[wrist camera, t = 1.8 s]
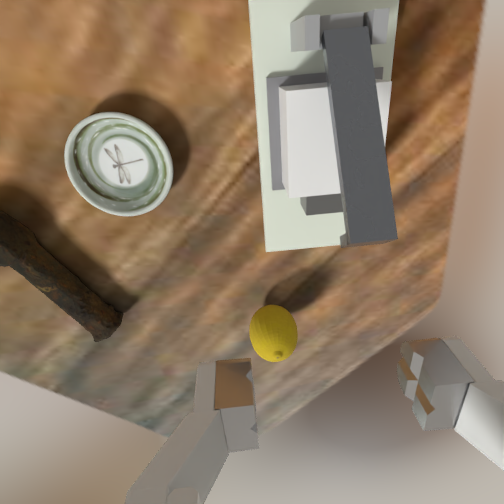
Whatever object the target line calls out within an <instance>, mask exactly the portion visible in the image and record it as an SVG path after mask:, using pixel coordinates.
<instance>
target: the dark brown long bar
mask: <svg viewBox="0 0 504 504" xmlns="http://www.w3.org/2000/svg"><path fill="white" fill-rule="evenodd" d="M0 266H4V267H5V266H10V267H11V268H13V269H14V270H16V271H17V272H19V273H20V274H21V275H23V276H24V277H25V278H26V279H27V280H28V281H29V282H30V283H31V284H33V285H34V286H35V287H36V288H37V289H39V290H40V291H41V292H42V293H44V294H45V295H46V296H47V297H48V298H50V299H51V300H52V301H53V302H55V304H57V305H58V306H59V307H60V308H61V309H63V310H64V311H65V312H66V313H67V314H68V315H70V316H71V317H72V318H73V319H75V320H76V321H77V322H79V324H81V325H82V326H83V327H84V328H85V329H86V330H88V331H89V332H90V333H91V334H92V336H93V338H94V341H95V342H99V341H101V340H103V339H107V338H109V337H110V336H111V335H112V333H113V332H114V331H116V330H117V328H118V327H119V326H120V324H121V322H122V317H123V314H122V313H119V312H115V311H114V308H113V305H107V304H106V303H105V302H103V301H102V300H101V299H100V298H99V297H98V296H97V295H96V294H94V293H93V292H92V291H90V290H89V289H88V288H87V287H86V286H85V285H84V284H83V283H82V282H80V280H79V278H78V277H77V276H74V275H73V274H72V273H71V272H70V271H68V269H67V268H66V267H64V266H63V265H61V264H60V263H59V262H58V261H57V260H56V259H55V258H54V257H53V256H51V255H50V254H49V253H48V252H47V251H46V250H45V249H44V248H42V247H41V246H40V245H39V244H38V243H37V241H36V239H35V234H34V233H32V232H31V231H30V230H29V229H28V228H26V227H25V226H24V225H22V224H21V223H20V222H18V221H17V220H15V219H13V218H12V217H10V216H9V215H7V214H6V213H4V212H2V211H0Z"/></svg>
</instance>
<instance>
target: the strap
mask: <svg viewBox="0 0 504 504" xmlns="http://www.w3.org/2000/svg"><path fill="white" fill-rule="evenodd" d="M321 41H322V49H323V57H324V65H325V73H326V81H327V89H328V97H329V105H330V112H331V120H332V128H333V136H334V144H335V152H336V160H337V168H338V176H339V184H340V192H341V200H342V208H343V215H344V223H345V231H346V233H345V234H343V235H341V236H340V244H341V248H344V247H354V246H364V245H374V244H384V243H387V242H390V241H393V240H396V239H398V237H397V230H396V223H395V216H394V209H393V202H392V194H391V187H390V180H389V173H388V166H387V159H386V152H385V145H384V137H383V130H382V123H381V116H380V109H379V102H378V95H377V87H376V80H375V73H374V66H373V59H372V52H371V45H370V38H369V30H368V26H363V27H352V28H342V29H331V30H323V34H322V37H321Z"/></svg>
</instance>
